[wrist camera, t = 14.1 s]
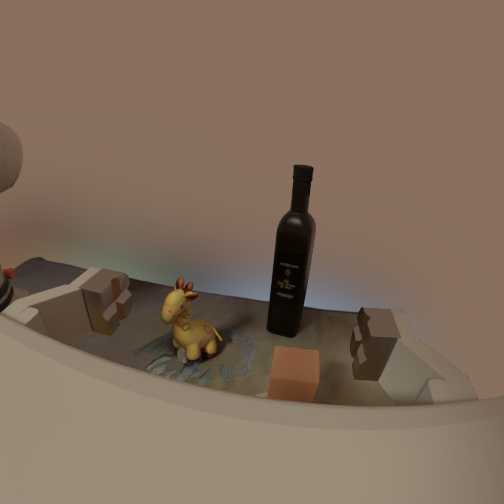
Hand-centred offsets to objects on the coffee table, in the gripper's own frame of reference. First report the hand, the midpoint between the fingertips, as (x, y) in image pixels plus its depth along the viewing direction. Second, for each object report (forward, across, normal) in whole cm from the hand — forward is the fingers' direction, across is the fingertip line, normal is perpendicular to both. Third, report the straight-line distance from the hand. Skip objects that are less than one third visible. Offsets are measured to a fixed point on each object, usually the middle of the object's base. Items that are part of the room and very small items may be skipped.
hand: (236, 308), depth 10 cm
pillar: (+13, -4, +25) cm, 28 cm away
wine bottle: (+37, -2, +30) cm, 48 cm away
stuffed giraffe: (+26, +11, +31) cm, 42 cm away
